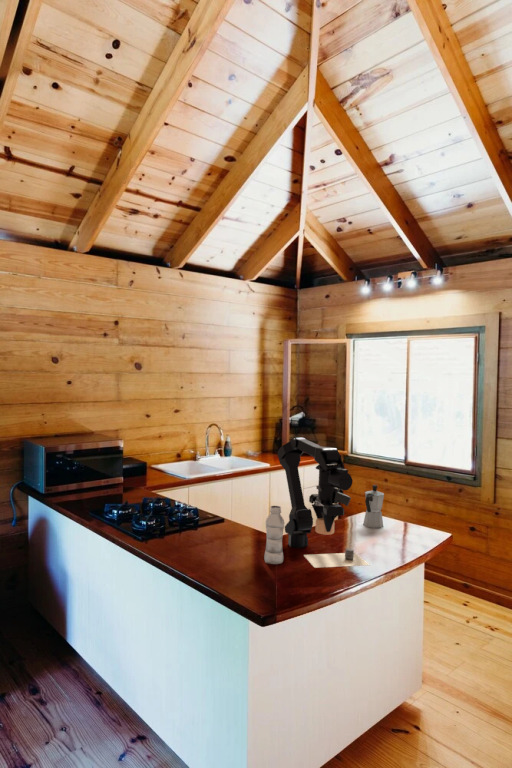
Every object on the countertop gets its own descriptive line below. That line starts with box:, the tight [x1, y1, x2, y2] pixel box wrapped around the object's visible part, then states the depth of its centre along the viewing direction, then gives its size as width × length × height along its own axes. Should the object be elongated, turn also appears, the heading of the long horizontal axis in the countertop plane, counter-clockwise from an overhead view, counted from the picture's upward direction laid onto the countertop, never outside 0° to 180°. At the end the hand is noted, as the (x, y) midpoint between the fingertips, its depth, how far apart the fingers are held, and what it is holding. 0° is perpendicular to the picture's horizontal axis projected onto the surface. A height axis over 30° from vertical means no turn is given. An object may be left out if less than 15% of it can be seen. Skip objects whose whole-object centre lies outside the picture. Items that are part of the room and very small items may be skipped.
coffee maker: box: [363, 484, 385, 529], centre depth 223 cm, size 15×9×18 cm, turn 144°
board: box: [303, 548, 370, 569], centre depth 175 cm, size 20×12×5 cm, turn 103°
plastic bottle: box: [263, 505, 285, 565], centre depth 172 cm, size 6×7×20 cm
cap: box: [315, 518, 336, 536], centre depth 174 cm, size 6×6×4 cm
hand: (324, 528), depth 174 cm, fingers closed on cap, 6 cm apart
